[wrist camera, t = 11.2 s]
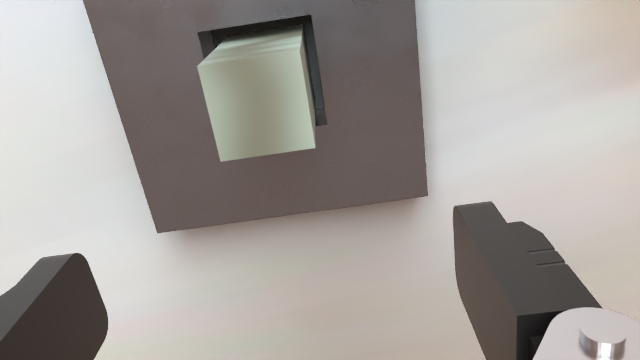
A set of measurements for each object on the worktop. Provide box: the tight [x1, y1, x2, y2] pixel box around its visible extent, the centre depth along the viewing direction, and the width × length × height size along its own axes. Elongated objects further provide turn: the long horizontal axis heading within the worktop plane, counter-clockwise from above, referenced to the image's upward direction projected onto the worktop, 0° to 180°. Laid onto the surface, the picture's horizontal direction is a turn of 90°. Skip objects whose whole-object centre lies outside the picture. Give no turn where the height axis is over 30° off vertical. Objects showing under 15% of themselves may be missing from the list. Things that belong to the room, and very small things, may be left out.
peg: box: [197, 24, 316, 162], centre depth 24 cm, size 4×4×8 cm
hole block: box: [83, 0, 428, 233], centre depth 26 cm, size 15×15×3 cm
